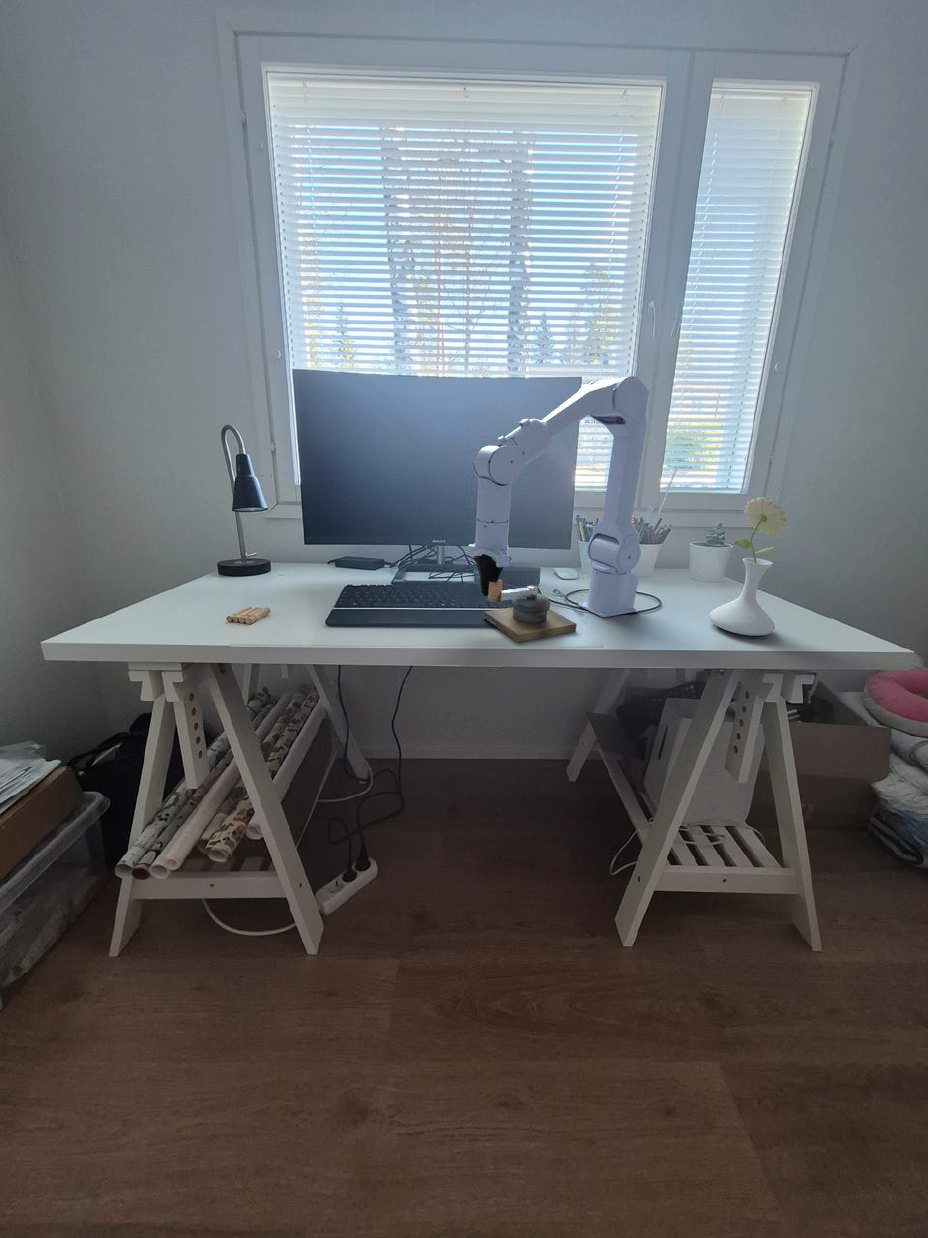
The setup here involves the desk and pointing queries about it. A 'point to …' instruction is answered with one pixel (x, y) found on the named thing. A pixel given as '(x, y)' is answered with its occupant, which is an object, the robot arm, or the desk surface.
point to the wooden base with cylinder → (530, 619)
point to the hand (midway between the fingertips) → (488, 594)
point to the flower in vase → (752, 575)
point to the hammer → (509, 592)
